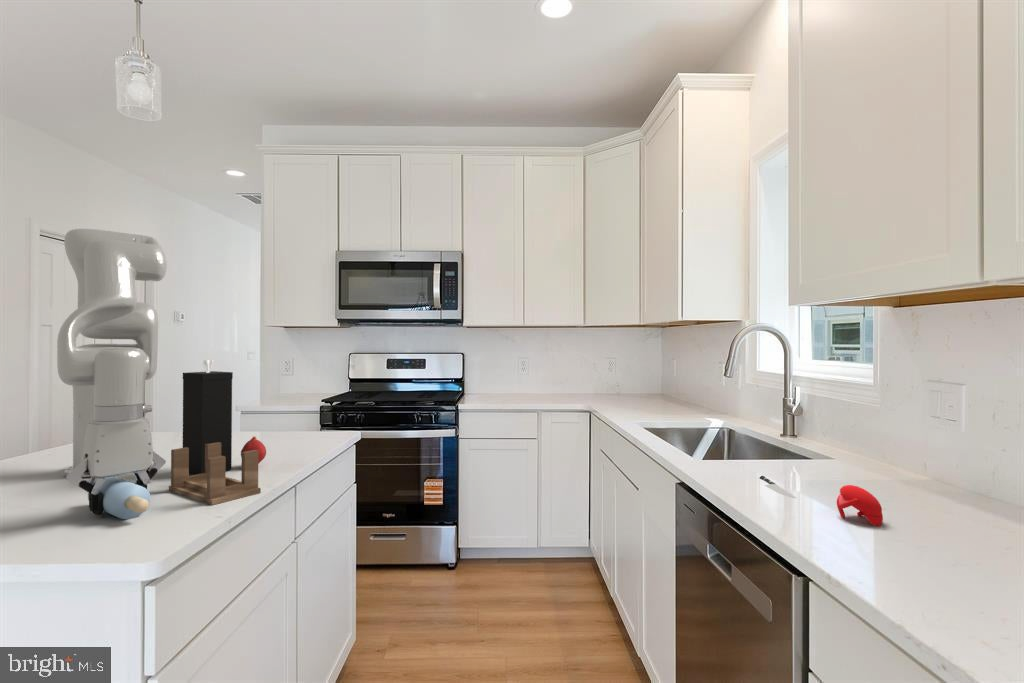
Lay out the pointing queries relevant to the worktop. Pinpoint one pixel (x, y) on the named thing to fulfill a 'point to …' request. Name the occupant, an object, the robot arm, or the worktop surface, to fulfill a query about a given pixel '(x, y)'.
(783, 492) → the chef's knife
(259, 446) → the onion
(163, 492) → the worktop surface
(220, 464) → the holder
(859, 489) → the cap
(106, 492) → the blue rolling pin
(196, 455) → the tall black box
